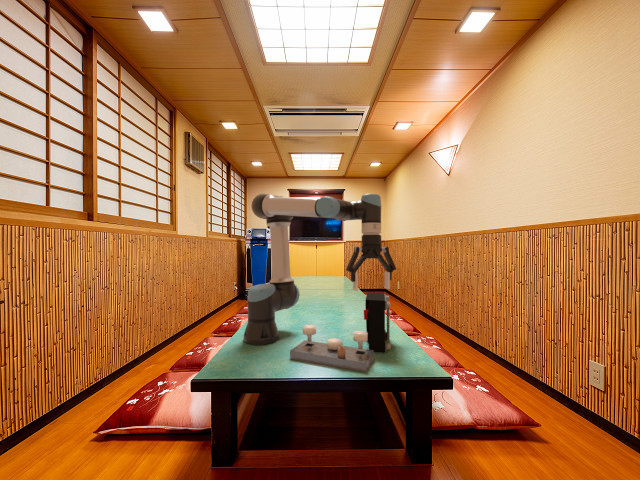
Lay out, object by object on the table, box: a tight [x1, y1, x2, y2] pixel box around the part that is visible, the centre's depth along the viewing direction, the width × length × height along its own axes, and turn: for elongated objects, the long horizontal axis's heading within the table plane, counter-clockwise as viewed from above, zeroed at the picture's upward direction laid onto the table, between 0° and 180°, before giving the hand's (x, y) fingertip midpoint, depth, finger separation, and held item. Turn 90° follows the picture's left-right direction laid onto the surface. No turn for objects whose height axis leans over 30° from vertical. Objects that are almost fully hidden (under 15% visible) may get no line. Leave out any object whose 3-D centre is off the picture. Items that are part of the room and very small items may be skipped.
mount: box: [289, 340, 375, 373], centre depth 105 cm, size 28×12×3 cm, turn 67°
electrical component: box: [363, 291, 392, 354], centre depth 119 cm, size 18×10×20 cm, turn 168°
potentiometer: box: [338, 341, 345, 358], centre depth 99 cm, size 3×3×5 cm
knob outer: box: [352, 330, 368, 349], centre depth 103 cm, size 5×5×6 cm
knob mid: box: [326, 337, 341, 350], centre depth 106 cm, size 5×5×6 cm
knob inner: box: [302, 324, 317, 342], centre depth 110 cm, size 5×5×6 cm
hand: (371, 289), depth 112 cm, fingers open, 13 cm apart
